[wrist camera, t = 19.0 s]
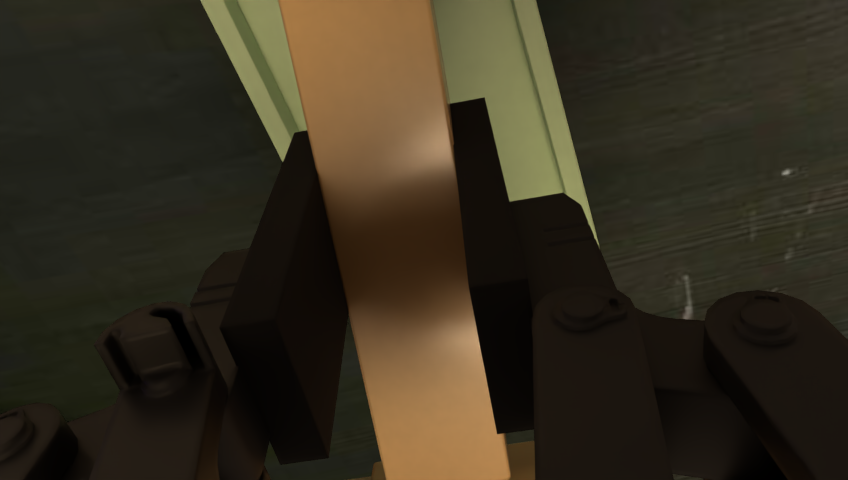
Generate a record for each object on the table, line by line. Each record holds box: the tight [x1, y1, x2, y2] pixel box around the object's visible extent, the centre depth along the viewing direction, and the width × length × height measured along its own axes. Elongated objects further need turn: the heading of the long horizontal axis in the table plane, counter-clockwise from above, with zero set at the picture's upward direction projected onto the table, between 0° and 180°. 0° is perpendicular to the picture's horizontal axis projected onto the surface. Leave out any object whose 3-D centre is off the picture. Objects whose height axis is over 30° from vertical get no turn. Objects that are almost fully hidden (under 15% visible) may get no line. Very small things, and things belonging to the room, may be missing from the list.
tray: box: [200, 0, 600, 249], centre depth 28 cm, size 23×12×2 cm, turn 19°
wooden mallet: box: [278, 0, 535, 480], centre depth 15 cm, size 19×7×4 cm, turn 10°
